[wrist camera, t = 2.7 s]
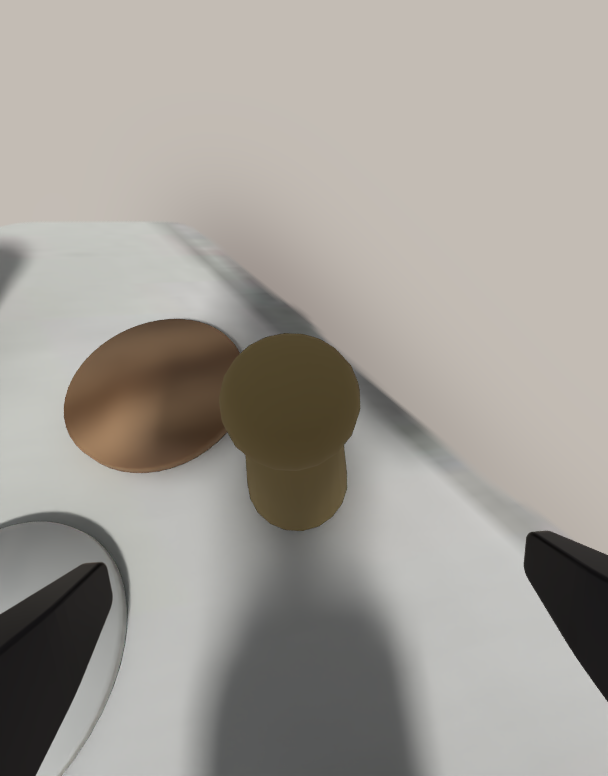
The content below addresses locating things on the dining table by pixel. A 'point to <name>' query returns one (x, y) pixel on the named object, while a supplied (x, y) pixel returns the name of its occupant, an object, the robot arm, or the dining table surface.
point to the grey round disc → (56, 558)
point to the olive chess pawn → (292, 426)
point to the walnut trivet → (150, 396)
